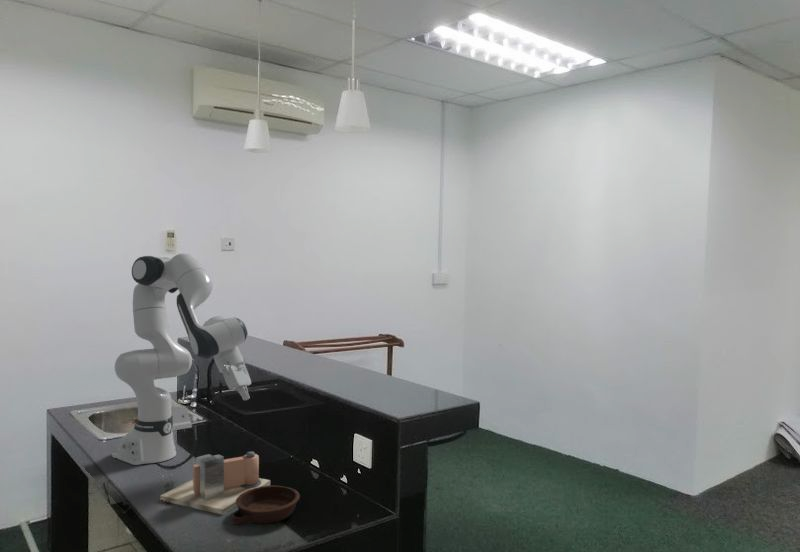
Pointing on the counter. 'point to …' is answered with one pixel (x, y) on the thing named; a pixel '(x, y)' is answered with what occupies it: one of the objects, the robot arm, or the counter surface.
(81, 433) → the counter surface
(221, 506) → the base board
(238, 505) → the dish
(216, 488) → the block
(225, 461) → the link
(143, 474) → the counter surface
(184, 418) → the hinge
